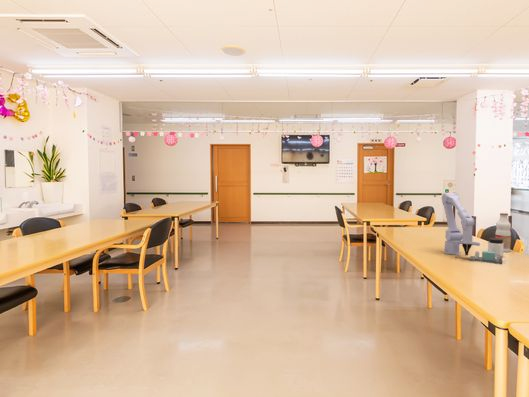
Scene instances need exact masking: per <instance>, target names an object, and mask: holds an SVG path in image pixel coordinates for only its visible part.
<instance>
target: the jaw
mask: <svg viewBox="0 0 529 397" xmlns="http://www.w3.org/2000/svg"><path fill="white" fill-rule="evenodd" d="M474 256H475V259H479V257H480V251H477V250H476V251H475V253H474Z"/></svg>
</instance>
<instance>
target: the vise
mask: <svg viewBox="0 0 529 397" xmlns="http://www.w3.org/2000/svg"><path fill="white" fill-rule="evenodd" d="M470 260H471V261H472V262H473V261H474V262H478V263H479V262H481V263H487V264H488V263H489V264H496V265H503V257H502V256H501V254H497V257H496V258H495V261H491V260H482V256H479V259H475V255H470V256H469V261H470Z"/></svg>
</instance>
